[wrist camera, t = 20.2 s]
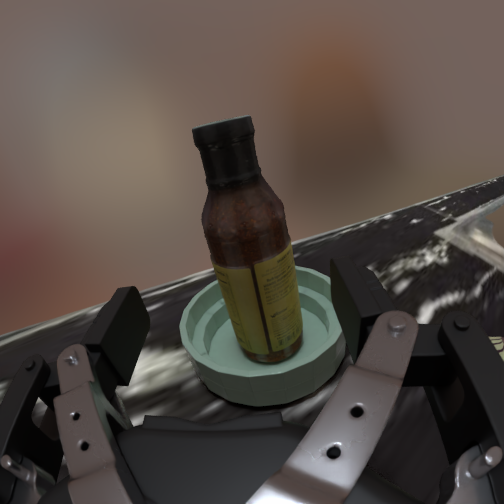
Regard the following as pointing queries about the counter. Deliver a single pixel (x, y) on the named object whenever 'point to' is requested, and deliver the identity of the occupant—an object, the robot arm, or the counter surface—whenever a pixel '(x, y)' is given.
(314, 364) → the bowl
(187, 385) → the counter surface
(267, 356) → the sauce bottle
